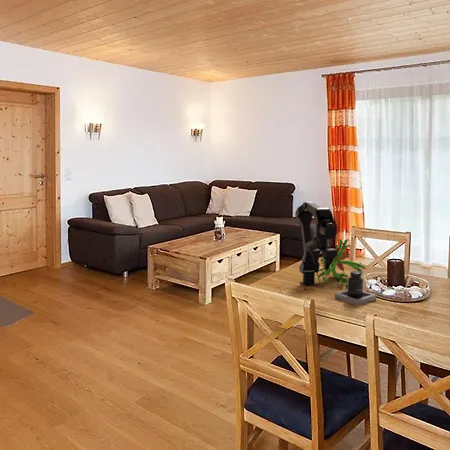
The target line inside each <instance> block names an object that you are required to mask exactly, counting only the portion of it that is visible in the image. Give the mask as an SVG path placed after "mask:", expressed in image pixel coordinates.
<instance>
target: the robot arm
mask: <svg viewBox="0 0 450 450" xmlns="http://www.w3.org/2000/svg"><path fill="white" fill-rule="evenodd" d="M294 215H295V219H296V222H297V224H299V226H300V228H301V229H300V231H301V237H302V238H301V239H302V247H303V248H302V249H303V256H302V258H301V263H300V264H299V266H298V269H299V270H298V271H299V272H300V273H301V274H302V281H300V282H299V283H300V284H302V285H303V286H306V287H309V286H316V285H318V283H317V282H315V281H316V280H315V279H316V277H315V276H316V274H317V273H318V274H319V272H320V271H319V270H320V265H321V264H320V261H319V259H320V256H321V258H322V257H323V258H324V260H325V270H328V268H329V266H330V264H331V263H332V261H333V259H334V258H335V257H336V256H338V251H339V250H337V249H336V248H331V246H330V245H329V240H331V239H334V238H336V236H337V233H338V231H337V229H336V227H334V224H335V218H334V215H333V213H332V211H331V209H330V207H321V206H320V205H318V204H317V203H315V202H314V201H312V200H311V201H303V203H302V204H301V205H300V206H298V207H297V208H296V210H295V214H294ZM313 220H314V221H315V222H314V223H315V235H314V236H313V237H312V230H311V224H312V221H313ZM321 254H322V255H321ZM324 260H323V261H324ZM325 270H324V271H325ZM318 271H319V272H318ZM315 273H316V274H315Z"/></svg>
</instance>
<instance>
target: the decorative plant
mask: <svg viewBox="0 0 450 450" xmlns="http://www.w3.org/2000/svg"><path fill="white" fill-rule="evenodd" d="M338 241H339V244H338V245H337V246H336V247H335V249H336V250H337V249H338V250H337V251H338V256H336V257H335V258H334V259H333V261H332V263H331V264H330V266H329V268H328V270H325V260H324V258H323V257H322V256H321V258H320V262H321V263H322V268H319V271H318V273H316V276H317V280H318V282H319V283H320V286H322V283H321V280H320V278H321V277H322V280H323V281H325V282H326V283H327V284H328V285H330V283H329V281H328V280H327V278H326V277H327V276H329V277H332V278H335V279H336V280H339V281H338V284H339V285H342V283H343V281H344V283H345V286H348V278H349V277H351V276H348V274H346V272H345V268H344V265H346V266H349V267H351V268H353V269H354V271H360V272H361V273H362V274H361V275H362V276H361V277H363V275H364V272H363V270H367V267H365V266H364V265H363V264H362V262H356V261H352V260H345V259H347V258H349V256H350V255H351V254H350V253H345V252H346V249H347V248H352V246H351V245H350V244H347V243H348V241H349V239H347V238H346V239H344V240H343V241H342V239H338ZM336 267H338V269H339V270H340V271H341V273H340V272H339V273H337V271H336ZM319 272H320V273H319ZM331 274H332V275H331Z"/></svg>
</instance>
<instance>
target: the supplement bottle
mask: <svg viewBox="0 0 450 450" xmlns="http://www.w3.org/2000/svg"><path fill="white" fill-rule="evenodd" d="M350 276H351V277H350ZM350 276H348V279H347V283H348V284H347V289H346V290H347V296H349V297H352V298H355V299H360V298H362V297H363V291H364V279H363V276H362V273H361V272H360V271H358V270H356V271H355V270H352V271H350Z"/></svg>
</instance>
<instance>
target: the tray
mask: <svg viewBox="0 0 450 450" xmlns="http://www.w3.org/2000/svg"><path fill="white" fill-rule="evenodd" d="M334 298H335V299H336V300H339V301H343V302H346V303H349V304H352V305H355V306H361V305H364V304H367V303H370V302H373V301H375V300H377V294H375V293H371V292H367V291H364V290H363V297H362V298H360V299H355V298H352V297H349V296H347V289H345V290H341V291H337V292H335V293H334Z"/></svg>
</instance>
